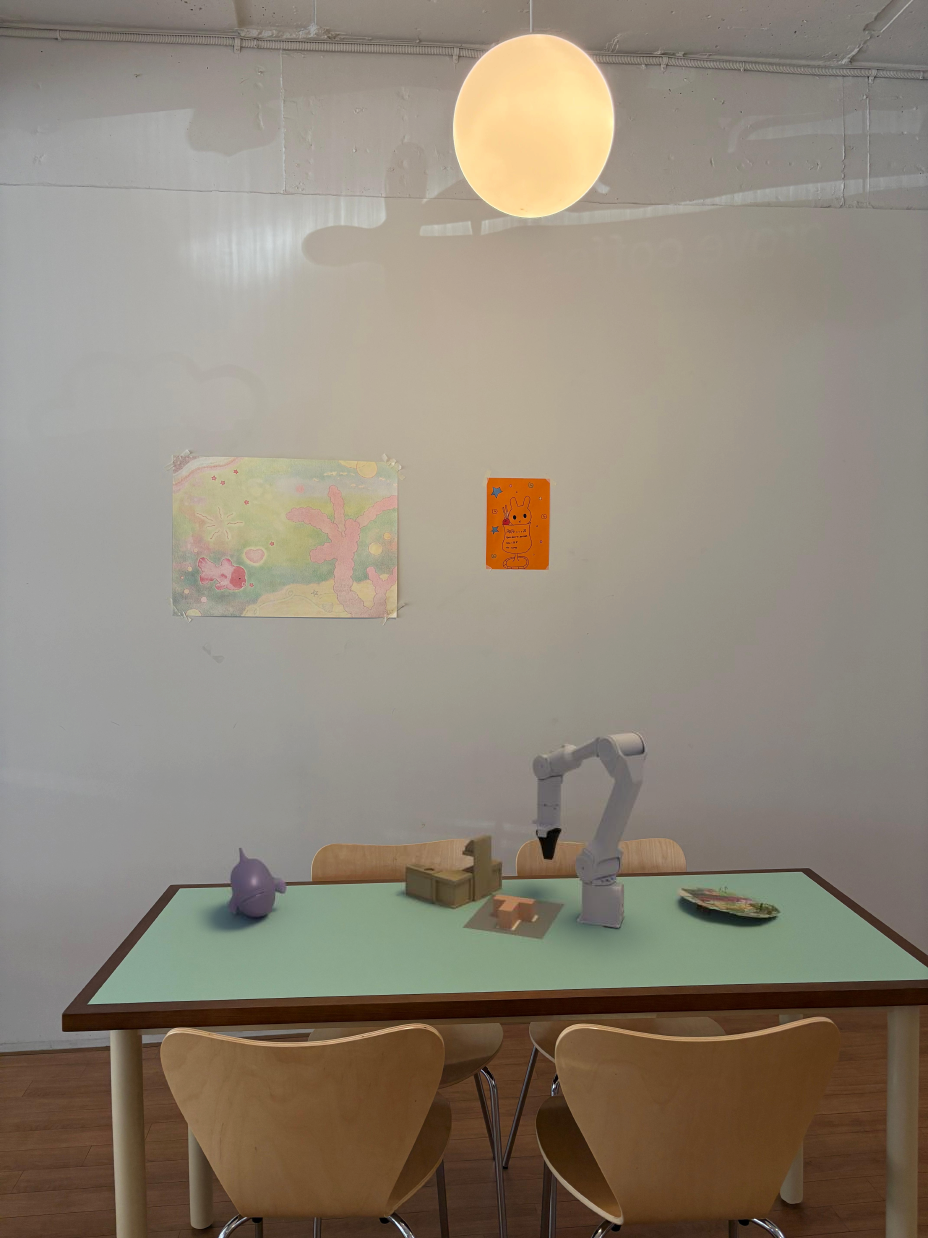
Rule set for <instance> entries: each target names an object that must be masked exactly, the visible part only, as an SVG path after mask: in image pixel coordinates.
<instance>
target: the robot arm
mask: <svg viewBox="0 0 928 1238" xmlns="http://www.w3.org/2000/svg"><path fill="white" fill-rule="evenodd" d="M560 746H561V748H559V749H557V750H556V749H552V750H550V751H549V753H548V754H538V755H537V756H536V757H535V758H534V759H533V761H532V772H533V774H534V776H535V777H536V779H537V789H536V790H537V799H536V801H537V803H536V805H537V807H536V809H537V811H536V812H537V813H536V816H537V817H536V818H533V819H532V820H531V821H532V822H531V823H532V824H534V825H535V824H536V827H537V829H536V830H535V835H536V837H537V839H538V841H539V844H540V848H541V855H542V856H543V860H548V861H552V860H553V859H554V856H555V853H556V849H557V848H556V847H557V844H558V843H557V842H558V840H559V837H560V836H561V835H560V834H561V833H562V828H561V826H562V820H561V818H562V817H561V815H562V814H561V813H562V812H561V811H562V809H561V808H562V806H561V805H562V804H561V803H562V801H561V800H562V799H561V798H562V784H563V783H564V776H565V775H566V774H567V773H569V772H572V771H573V770H577V769H580V767H582V764H583V761H585V760H589V759H590V758H594V757H596V758H599V759H600V762H601V764H603V766H604V768H605V770H606V771H607V773H608V774H609V776H610V778H613V779H614V784H613V785H612V786H613V787H612V790H611V793H610V795H609V798H608V801H607V803H606V806H605V808H604V810H603V814H602V817H601V818H600V821H599V824H598V827H597V829H596V831H595V832H596V833H595V834H594V838H593V839H592V840H591V841H589V842H588V843H587V844H585V846H583V848H582V851H581V853H579V854H578V855H577V856H576V858H575V860H574V870H575V873H576V875H577V878H579V881H581V913H580V915H579V916H578V917H577V920H576V922H577V923H581V924H589V925H595V926H596V925H597V926H602V927H609V928H615V929H616V928H617V929H619V928H620V927H621V925H622V923H623V920H624V918H625V884H624V883H622V882H618V881H616V880H617V875H619V874H620V873H621V871H622V866H623V862H622V860H623V856H624V851H623V849H622V847H621V846H620V842H621V839H622V837H623V834H624V832H625V830H626V827H627V824H628V822H629V818H630V817H631V813H632V811H633V809H634V806H635V804H636V800H637V798H638V796H639V793H640V791H641V788H642V785H643V783H644V782H643V781H644V763H645V760H646V759H647V755H648V753H649V750H648V748H647V747H648V746H647V745H646V742H645V740H644V737H643V735H641V734H640V733H639V732H637V731H630V732H629V731H628V732H625V733H617V734H604V735H601V736H596V737H595V738H593V739H591V740H589V741H586V742H584V743H582V744H581V745H578V746H576V745H574V744H569V743H563V744H562V745H560Z"/></svg>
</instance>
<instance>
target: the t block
mask: <svg viewBox="0 0 928 1238" xmlns="http://www.w3.org/2000/svg"><path fill="white" fill-rule="evenodd" d="M495 895H496V897H495V898H494V903H493V916H496V917H498V928H505V929H512V928H513V927H514V925H515V924H516V923H517V921H518V920H525V921H532V920H533V919H534V917H535V900H536V899H534V898H528V897H518V896H512V895H504V894H495Z"/></svg>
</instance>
